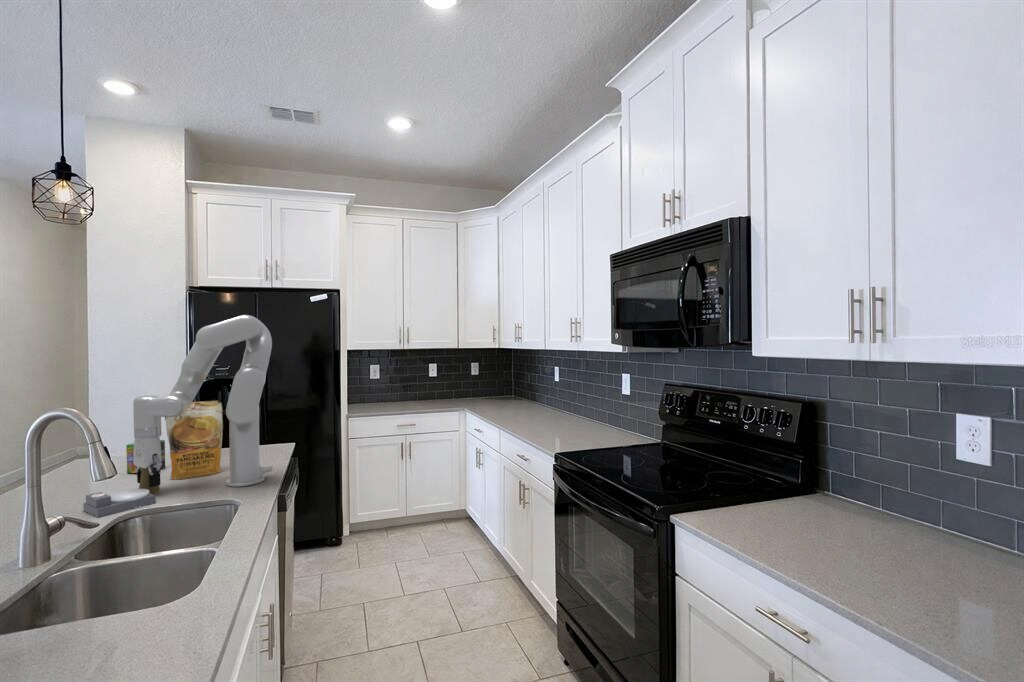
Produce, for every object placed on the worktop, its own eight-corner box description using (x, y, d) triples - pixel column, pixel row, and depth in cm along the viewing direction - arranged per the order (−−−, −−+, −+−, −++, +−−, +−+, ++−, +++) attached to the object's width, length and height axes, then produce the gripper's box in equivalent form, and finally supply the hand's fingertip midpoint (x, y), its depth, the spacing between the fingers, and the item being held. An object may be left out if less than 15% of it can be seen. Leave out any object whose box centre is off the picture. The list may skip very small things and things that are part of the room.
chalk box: (146, 467, 204) (145, 431, 204) (166, 468, 203) (165, 431, 203) (125, 474, 195) (124, 435, 195) (146, 474, 194) (145, 436, 194)
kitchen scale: (140, 497, 167) (140, 481, 167) (155, 502, 161) (155, 486, 161) (83, 510, 154) (83, 493, 154) (97, 517, 148) (97, 499, 148)
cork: (164, 490, 174) (163, 458, 174) (150, 496, 168) (149, 463, 167) (148, 490, 174) (147, 458, 174) (133, 495, 168) (132, 462, 168)
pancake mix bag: (165, 477, 189) (163, 403, 189) (223, 469, 200) (222, 398, 200) (165, 482, 184) (163, 405, 183) (225, 473, 195) (224, 400, 194)
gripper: (123, 431, 172) (124, 483, 172) (146, 437, 163) (147, 491, 163) (148, 428, 179) (149, 477, 179) (172, 433, 169) (173, 485, 169)
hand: (148, 483), depth 171 cm, fingers open, 8 cm apart
